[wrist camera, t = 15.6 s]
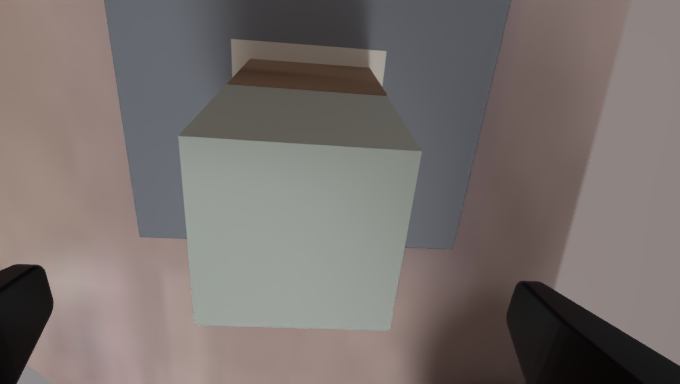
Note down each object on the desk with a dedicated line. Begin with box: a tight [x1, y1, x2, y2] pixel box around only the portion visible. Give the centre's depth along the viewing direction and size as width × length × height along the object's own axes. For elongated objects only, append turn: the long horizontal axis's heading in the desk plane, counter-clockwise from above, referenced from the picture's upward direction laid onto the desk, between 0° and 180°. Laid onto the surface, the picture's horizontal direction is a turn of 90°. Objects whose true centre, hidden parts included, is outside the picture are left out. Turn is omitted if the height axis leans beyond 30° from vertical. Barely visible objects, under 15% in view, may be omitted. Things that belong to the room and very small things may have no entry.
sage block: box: [178, 84, 422, 331], centre depth 12 cm, size 5×5×5 cm
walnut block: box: [227, 59, 387, 96], centre depth 16 cm, size 5×5×5 cm
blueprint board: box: [104, 0, 511, 249], centre depth 19 cm, size 13×16×1 cm
